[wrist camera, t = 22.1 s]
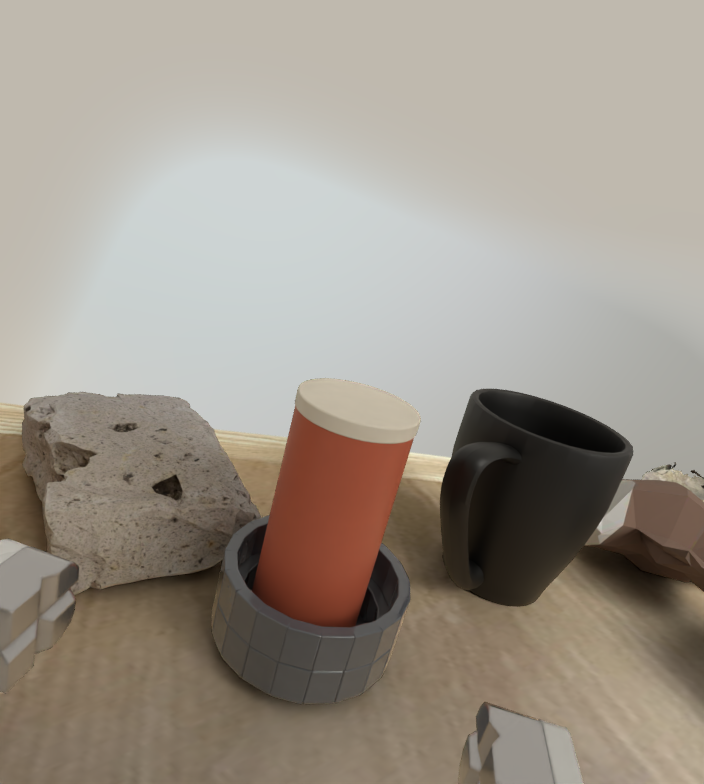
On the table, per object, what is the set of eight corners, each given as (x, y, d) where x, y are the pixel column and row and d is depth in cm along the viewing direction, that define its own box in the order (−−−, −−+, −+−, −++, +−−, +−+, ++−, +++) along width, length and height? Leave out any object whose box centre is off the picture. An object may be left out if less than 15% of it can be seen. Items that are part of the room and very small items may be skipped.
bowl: (420, 653, 23) (444, 586, 22) (297, 757, 17) (322, 673, 16) (302, 558, 27) (318, 497, 26) (171, 616, 22) (185, 542, 20)
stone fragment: (575, 492, 45) (587, 552, 45) (677, 494, 38) (691, 565, 38) (692, 456, 55) (702, 504, 55) (789, 452, 48) (801, 507, 48)
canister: (373, 635, 23) (444, 418, 20) (297, 689, 19) (369, 436, 16) (300, 574, 25) (353, 374, 22) (221, 612, 22) (271, 381, 19)
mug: (341, 568, 27) (392, 394, 24) (469, 517, 36) (517, 384, 33) (475, 686, 22) (559, 483, 19) (587, 594, 31) (656, 444, 28)
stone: (61, 638, 19) (281, 567, 26) (79, 485, 18) (303, 456, 25) (-37, 488, 27) (150, 465, 35) (-29, 377, 26) (163, 379, 34)
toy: (905, 741, 26) (994, 622, 24) (562, 610, 29) (614, 495, 27) (758, 564, 40) (804, 482, 38) (542, 490, 43) (574, 410, 41)
